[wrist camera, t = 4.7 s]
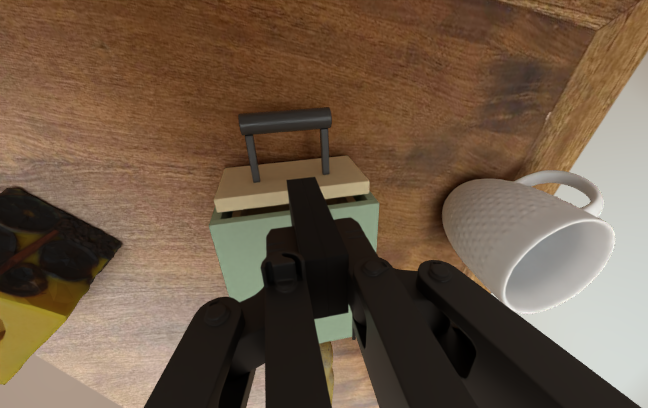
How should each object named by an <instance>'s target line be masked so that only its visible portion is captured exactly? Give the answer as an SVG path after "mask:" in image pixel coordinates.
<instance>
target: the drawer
mask: <svg viewBox="0 0 648 408" xmlns="http://www.w3.org/2000/svg"><path fill="white" fill-rule="evenodd" d="M238 118H239V126H240V131H241V134H242V135H245V140H246V145H247V151H248V156H249V162H250V166H241V167H232V168H225V169H224V171H223V174H222V177H221V180H220V183H219V186H218V189H217V191H216V194H215V197H214V203H215V207H216V211H217V213H219V212H227V211H233V213H232V218H235V217H242V216H250V215H258V214H265V213H273V212H281V211H288V210H290V207H289V198H288V190H287V181H286V180H290V179H299V178H308V177H315V178H316V180H317V182H318V185H319V187H320V189H321V192H322V194H323V196H324V198H325V201H326V203H327V205H334V204H342V203H350V202H356V201H355V199H354V197H353V195H361V194H369V182H370V181H369V180H368V179H367V177H366V176H365V175H364V174H363V173H362V172H361V170H360V169H359V168H358V167H357V166H356V165H355V163H354V162H353V161H352V160H351V159H350V158H349V156H338V157H329V141H328V128H330V127H331V124H332V117H331V111H330V108H329V107H324V108H311V109H297V110H284V111H271V112H258V113H244V114H239V115H238ZM312 129H320V142H321V158H318V159H309V160H299V161H290V162H280V163H270V164H261V165H258V162H257V156H256V150H255V143H254V137H253V135H255V134H266V133H278V132H289V131H301V130H312Z"/></svg>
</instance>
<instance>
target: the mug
mask: <svg viewBox="0 0 648 408" xmlns="http://www.w3.org/2000/svg"><path fill="white" fill-rule="evenodd" d="M542 183H559V184H564V185H568V186H571V187H574V188H576V189H578V190H580V191H581V192H583V193H584V194H586V195H587V196H588V197H589V198H590V200H591V202H590V203H589V204H588V205H586V206H585V207H582V208H578V207H576V206H574V205H572V204H571V203H568V202H566V201H563V200H561V199H559V198H558V197H555V196H553V195H550V194H548V193H546V192H544V191H540V190H537V189H536V188H533V187H531V186H534V185H537V184H542ZM603 207H604V199H603V196H602V193H601V192H600V190H599V189H598V188H597V186H596V185H594V184H593V183H592V182H590V181H589V180H587V179H585V178H583V177H581V176H579V175H576V174H573V173H570V172H565V171H557V170H545V171H539V172H535V173H532V174H529V175H526V176H524V177H521V178H519V179H517V180H515V181H514V182H513V181H506V180H502V179H492V178H491V179H477V180H472V181H468V182H465V183H463V184H461V185H459V186H458V187H456V188H455V189H454V190H453V191H452V192H451V193H450V194H449V195H448V197H447V198H446V200H445V202H444V205H443V210H442V221H443V228H444V230H445V233H446V235H447V237H448V240H449V242H450V243H451V245H452V247H453V248H454V250H455V251H456V253H457V255H458V256H459V257H460V258H461V260H462V261H463V262H464V263H465V264H466V265H467V267H468V268H469V269H470V270H471V271H472V272H473V273H474V274H475V276H476V277H477V278H478V279H479V280H480V281H481V282H482V283H483V284H484V285H485V286H486V287H487V288H488V289H489V290H490V291H491V292H492V293H493V294H494V295H495V296H496V297H497V298H498V299H499V300H500V301H501V302H502V303H503V304H505V305H506V306H507V307H509V308H510V309H511V310H513V311H514V312H517V313H522V314H531V313H537V312H542V311H545V310H548V309H551V308H553V307H556V306H558V305H560V304H562V303H564V302H566V301H567V300H569V299H571V298H572V297H574V296H575V295H577V294H578V293H579V292H581V291H582V290H584V289H585V288H586V287H587V286H588V285H589V284H590V283H591V282H592V281H593V280H594V279H595V278H596V277H597V276H598V275H599V273H600V272H601V271H602V269H603V268H604V267H605V265H606V264H607V262H608V261H609V259H610V257H611V255H612V253H613V250H614V246H615V233H614V230H613V228H612V227H611V226H610V225H609V224H608V223H607V222H606V221H603V220H602V219H600V218H598V217H599V216H600V214H601V213H602V210H603Z"/></svg>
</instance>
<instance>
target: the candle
mask: <svg viewBox="0 0 648 408" xmlns="http://www.w3.org/2000/svg"><path fill="white" fill-rule="evenodd" d="M120 247H121V243H120V242H119V241H117V240H116V239H114V238H113V237H111V236H108V235H106V234H104V233H103V232H102V231H100V230H98V229H96V228H92V227H91V226H89V225H88V224H86V223H84V222H82V221H80V220H77V219H76V218H74V217H73V216H70V215H68V214H66V213H64V212H63V211H61V210H58V209H56V208H54V207H52V206H50V205H47V204H46V203H44V202H42V201H41V200H39V199H37V198H36V197H33V196H31V195H28V194H26V193H25V192H24V191H22V190H21V189H15V188H7V189H6V190H4V191H3V192H2V193H0V384H3V385H5V384H6V383H7V382H8V381H9V380H10V379H11V378H12V377H13V376H14V375H15V374H16V373H17V372H18V371H19V370H20V369H21V367H22V366H23V364H24V363H25V362H26V361H27V359H28V358H29V357H30V356H31V355H32V354H33V353H34V352H35V351H36V350H37V349H38V348H39V347H40V346H41V345H42V344H43V343H45V342H46V341H47V340H48V339H49V338H50V337H51V335H52V334H53V333H54V332H55V331H56V330H57V329H58V328H59V327H60V326H61V325H62V324H63V323H64V322H65V321H66V320H67V318H68V317H69V316H70V314H71V313H72V311H73V310H74V308H75V307H76V305H77V304H78V302H79V300H80V299H81V298H82V296H83V295H84V294H85V293H86V292H87V291H88V290H89V287H90V284H91V283H92V282H93V280H94V278H95V276H96V275H97V274H99V273H100V272H101V271H102V269H103V268H104V267H105V266H106V265H107V264H108V262H109V261H110V260H111V259H112V258H113V257H114V254H115V253H116V252H117V250H118V249H119V248H120Z"/></svg>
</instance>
